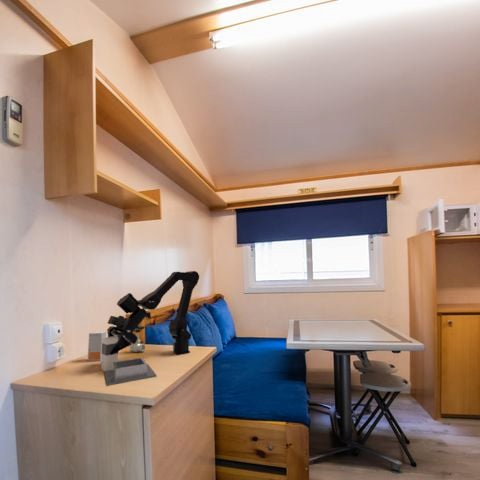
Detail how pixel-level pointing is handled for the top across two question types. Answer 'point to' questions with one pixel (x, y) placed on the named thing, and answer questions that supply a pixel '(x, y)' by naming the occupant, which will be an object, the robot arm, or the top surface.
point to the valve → (137, 346)
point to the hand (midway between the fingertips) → (106, 352)
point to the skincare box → (95, 346)
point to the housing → (128, 371)
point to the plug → (108, 353)
